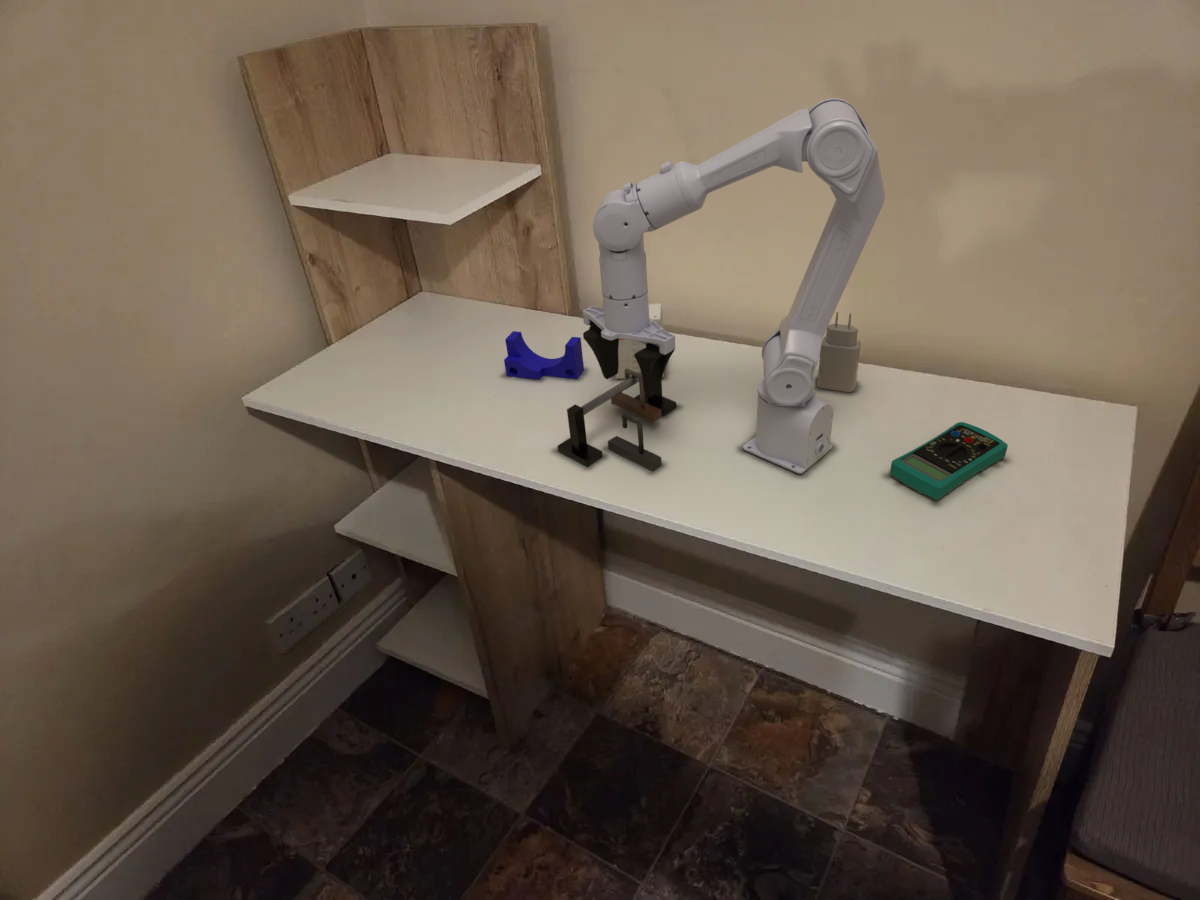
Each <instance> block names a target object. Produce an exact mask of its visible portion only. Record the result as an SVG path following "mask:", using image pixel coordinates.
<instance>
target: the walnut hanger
mask: <svg viewBox="0 0 1200 900" xmlns="http://www.w3.org/2000/svg"><path fill="white" fill-rule="evenodd" d="M624 372H625V379H624V381H625V380H626V379H628V378H630V375H632V376H634V377H636V378H639V382H638V388H639V391H638V392H639V394H640V400H638V399H636V398H635V397H633V396H631V395H628V394H626V393H624V392H621V393H619V394H618V395H616V396H615V397H613V398H611V399H610V402H611V405H612V406H615V407H618V408H619V409H622V410H623V411H627V412H628V413H630V414H632V415H635V416H637V417H639V418H642V419H643V420H646V421H647V422H650V423H652V424H654V423H656V422H657V421H659V420H660V419H662V415H661V410H660V409H658V408H656V407H654V406H651V405H649V404H647V403H645V393H644V388H643V379H642V374H639V373H637V372H635V371H632V370H630V369H627V368H626V369H625V370H624Z"/></svg>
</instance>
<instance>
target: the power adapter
mask: <svg viewBox="0 0 1200 900" xmlns="http://www.w3.org/2000/svg"><path fill="white" fill-rule="evenodd" d="M848 316H849V317H848V323H847V324H842V323H841V324H840V323H839V322H838V321H839V312H838V311H836V313H835V321H834V322H835V323H832V324H829V325H828V327H827V329H826V331H825V336H823V339H822V344H821V350H820V356H819V361H818V372H817V384H816V385H817V387H818V388H820V389H826V390H832V391H840V392H846V393H851V392H852V393H853V392H854V390H855V387H856V386H857V379H858V371H859V370H858V369H859V363H860V355H861V354H860V352H861V344H862V342H861V340H859V339H858V333H859V329H858V328H857V327H856V326H855V325H852V324H851V323H852V313H851V312H850V313H849V314H848Z"/></svg>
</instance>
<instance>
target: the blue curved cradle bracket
mask: <svg viewBox="0 0 1200 900" xmlns="http://www.w3.org/2000/svg"><path fill="white" fill-rule="evenodd" d="M504 341H505V347H506V353H507V356H506V357H505V358H504V359H503V362H504V369H505V375H506V377H509V378H519V379H526V380H527V379H528V380H536V381H541V380H542V378H543V377H544V376H545V377H553V378H554V377H555V378H562V379H570V380H571V379H572V380H578V379H579V378H580V377H581V376H582V374H583V372H584V371H585V368H584V357H583V348H582V337H579V336H571V337H570V339H569V340H568V341H567V342H566V344H565V345H564V353H563V355H561V356H559V357H555V358H548V357H544V356H541V355H539V354H537V353H536V352H534V351H533V350H532V349H531V348H530V346H528V345H527V343H526V341H525V340H524V337H523V334H522V331H517V330H516V331H515V330H513V331H511V333H510V334H509V335H507V337H506V338H505V339H504Z"/></svg>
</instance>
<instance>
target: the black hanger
mask: <svg viewBox="0 0 1200 900" xmlns="http://www.w3.org/2000/svg"><path fill="white" fill-rule="evenodd" d="M628 422H631V423H633V424H635V425H636V426H637V427H636V428H637V430H636V431H637V442H638V445H637V444H634V443H633V442H631V441H629V440H627V439H625V438H623V437H620V436H618V435H615V436H614V437H612V438H611V439H609V440H608V441H607V449H608V450H609V451H611V452H613V453H615V454H617V455H618V456H620V457H623V458H625V459H627V460H629V461H631V462H633V463H635V464H638V465H639V466H641V467H644V468H645V469H647V470H650V471H651V472H654V471H656V470H657V469H659V468H660V467H661V466H662V465H663V464H662V457H661V456H660V455H658V454H656V453H654V452H652V451H650V450H648V449H646V448H645V446H644V445H645V444H644V429H643V427H644V426H643V420H641V419H639V418H636V417H635V416H632V415H630V414H628V413H626V412H624V413H622V414H621V425H622V428H623V429H625V430H626V429H628V426H629V425H628Z"/></svg>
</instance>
